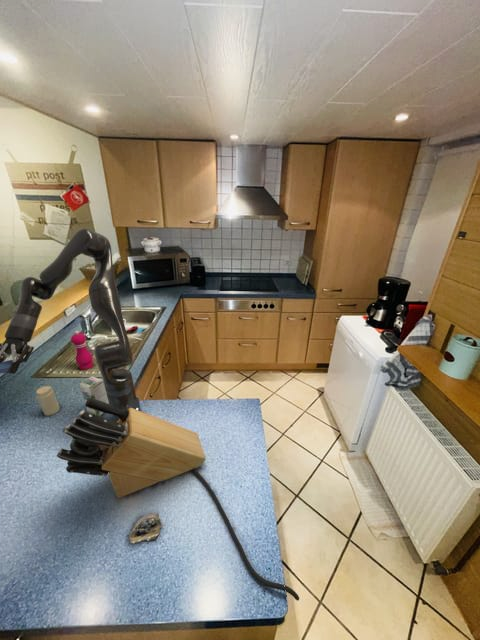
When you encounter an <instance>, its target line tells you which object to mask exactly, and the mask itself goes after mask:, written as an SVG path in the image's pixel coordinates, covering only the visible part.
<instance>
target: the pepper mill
mask: <svg viewBox="0 0 480 640" xmlns="http://www.w3.org/2000/svg"><path fill="white" fill-rule="evenodd" d="M86 340H87V337H86V335H85V334H84V333H82V332H79V331H78V330H76V331H74V334H73V335H71V337H70V342H71V343H72V344H73V347H74V348H75V349H76V355H75V362H76V364H78V369H79V370H89V369H91V368H93V367H94V365H95V364H94V361H93V359H94V357H93V354H92V352H91V351H89V350H88V348H87V341H86Z"/></svg>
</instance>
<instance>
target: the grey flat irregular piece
mask: <svg viewBox="0 0 480 640" xmlns="http://www.w3.org/2000/svg"><path fill="white" fill-rule="evenodd" d="M159 517H160V513H158V512H157V513H149V514H146V515H143V516H141V518H138V520H137V521H136V522H135V524H134V526H133V528H132V529H131V532H130V533H129V535H128V541H130V543H132V545H135V543H140V542H141V541H142V542H144V541H146V540H147V542H148V541H150V540H156V539H157V538H158V536H159V534H160V533H161V528H162V526H163V524H162V519H161V518H159Z"/></svg>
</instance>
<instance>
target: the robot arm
mask: <svg viewBox="0 0 480 640" xmlns="http://www.w3.org/2000/svg"><path fill="white" fill-rule="evenodd" d="M112 251H113V250H112V246H111V242H110V240H109V239H108V238H107V237H106V236H105V235H103V234H101V233H98V232H96V231H94V230H92V229H90V228H87V227H83V228H80V229H78V230H77V231H76V232H75V233H74V234H73V235H72V237H71V238H70V239H69V241H67V243H66V244H65V245H64V247H63V248H62V249H61V251H60V252H59V254H58V255H57V257H56V258H55V259H54V260H53V261H52V262H51V263H50V264H49V265H48V266H46V267H45V268H44V269H43V270H42V271H40V273H39V276H38V277H39V278H37V277H34V276H28V277H25V278H24V279H23V280H22V281H21V283H20V289H19V290H20V291H19V301H18V305H17V307H16V310H15V313H14V314H13V316H12V318H11V319H10V322H9V324H8V327H7V329H6V331H5V333H4V338H5V340H4V341H3V342H0V363H2V362H5V361H6V360H7V358H9V357H12V360H13V362H14V363H12V364H11V366H10V368H9V371H8V372H7V374H11V375H15V374H17V372H18V370H19V367H20V365H21V364H23V363H27V362H28V360H29V359H30V356H31V354H32V353H33V351H34V350H35V346H33V345H29V344H28V343H31V340H32V337H33V336H34V333H35V329H36V327H37V325H38V321H39V318H40V315H41V313H42V309H43V307H42V306H43V305H41V304H40V303H39V302H38V301H35V300H34V299H33V297H34V298H36V299H39V300H43V301H48V300H50V299H51V298H52V297H53V296H54V294H55V292H56V290H57V288H58V287H59V286H60V284H62V283H63V282H64V281H65V280H67V279H68V278H69V277H70V275H71V274H72V271H73V262H74V260H75V259H76V258H77V257H78V256H80V255H84V256H87V257H89V258H92V259H93V261H94V263H95V274H94V275H93V278H92V280H91V281H90V283H89V286H88V298H89V301H90V307H91V309H92V310H93V312H94V313H95V314H96V315H97V316H98V317H99V318H100V319H101V320H103V321H104V322H105V323H106V324H107V325H108V326H109V327H110V328H111V329H112V330H113V332H114V333H115V335H116V337H117V338H118V339H117V340H113V341H109V342H108V341H107V342H103V343H99V344H97V345H96V346H95V348H94V357H95V361H96V364H97V367H98V369H99V372H100V375H101V379H102V380H103V383H104V387H105V391H106V395H107V399H108V403H109V404H110V405H112V406H114V407H116V408H117V409H119V410H122V411H124V410H125V409H126V410H128V409H129V408H133V409H136V410H138V411H141V412H142V409H141V405H140V400H139V397H137V394H136V388H135V384H134V379H133V375H132V372H131V371H130V370H129V369H127V368H124V367H127V366H130V365H133V359H134V358H133V357H134V356H133V351H132V347H131V343H130V339H129V336H128V333H127V329H126V326H125V322H124V316H123V311H122V305H121V299H120V295H119V290H118V286H117V282H116V276H115V271H114V264H113V263H114V262H113V253H112ZM111 416H112V419H113V421H115V422H117V421H118V420H119V419H120V418H119V417H118V416H115V415H112V414H111ZM190 471H191V472H192V473H193V474H194V475H195V476H196V477H197V478H198V479H199V480H200V481H201V482H202V484H203V485H204V486H205V488H206V489H207V491H208V492H209V494H210V495H211V497H212V499H213V500H214V502H215V504H216V506H217V508H218V510H219V512H220V514H221V516H222V518H223V520H224V523H225V524H226V527H227V529H228V531H229V533H230V535H231V537H232V539H233V541H234V543H235V545H236V548H237V549H238V551H239V553H240V556H241V558H242V560H243V562H244V564H245V566H246V568H247V570H248V571H249V572H250V574H251V575H252V577H253V578H255V580H257V582H259V583H260V584H262V585H263V586H265V587H268V588H271V589H275V590H279V591H283V592H285V590H286V593H288V594H289V595H290V596H292V597H293V598H294V600H295V601H300V596H299V594H298V593H297V592H296V591H295V590H294V589H293V588H292V587H290V586H288V585H286V584H283V583H278V582H273V581H270V580H267V579H265V578H263V577H262V576H261V575H260V574H259V573H258V572H256V570H255V569H254V568H253V566H252V565H251V563H250V561H249V559H248V557H247V555H246V552H245V550H244V549H243V546H242V543H241V542H240V540H239V538H238V537H237V535H236V533H235V530H234V528H233V526H232V524H231V522H230V520H229V517H228V516H227V514H226V512H225V510H224V508H223V506H222V504H221V502H220V501H219V499H218V497H217V495H216V493H215V492H214V490H213V489H212V487H211V486H210V485H209V483H208V482H207V481H206V479H205V478H204V477H203V475H201V473H199V471H198V470H196V468H195V469H192V470H190ZM284 585H285V587H284Z"/></svg>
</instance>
